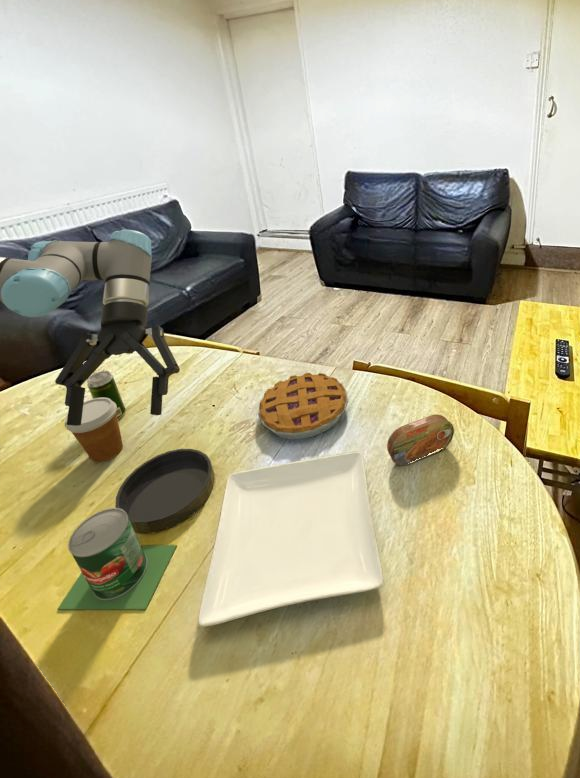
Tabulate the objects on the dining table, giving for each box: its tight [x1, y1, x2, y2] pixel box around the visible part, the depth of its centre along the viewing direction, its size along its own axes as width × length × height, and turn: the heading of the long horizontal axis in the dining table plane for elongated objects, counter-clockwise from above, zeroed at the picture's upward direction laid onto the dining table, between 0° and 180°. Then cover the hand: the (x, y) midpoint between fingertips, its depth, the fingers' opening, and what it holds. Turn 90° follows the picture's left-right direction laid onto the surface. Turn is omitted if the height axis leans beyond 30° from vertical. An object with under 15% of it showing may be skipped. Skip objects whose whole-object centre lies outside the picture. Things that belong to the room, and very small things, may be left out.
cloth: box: [57, 544, 178, 611], centre depth 68 cm, size 14×10×1 cm
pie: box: [257, 372, 349, 440], centre depth 102 cm, size 22×22×5 cm
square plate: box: [197, 450, 384, 628], centre depth 73 cm, size 27×27×4 cm
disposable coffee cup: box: [64, 397, 124, 464], centre depth 91 cm, size 10×10×12 cm
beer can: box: [86, 370, 127, 420], centre depth 102 cm, size 5×5×12 cm
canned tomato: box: [67, 507, 147, 601], centre depth 66 cm, size 8×8×11 cm
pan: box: [114, 448, 216, 534], centre depth 82 cm, size 17×17×3 cm
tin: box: [386, 413, 455, 466], centre depth 87 cm, size 15×3×8 cm, turn 114°
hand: (115, 420), depth 72 cm, fingers open, 13 cm apart
